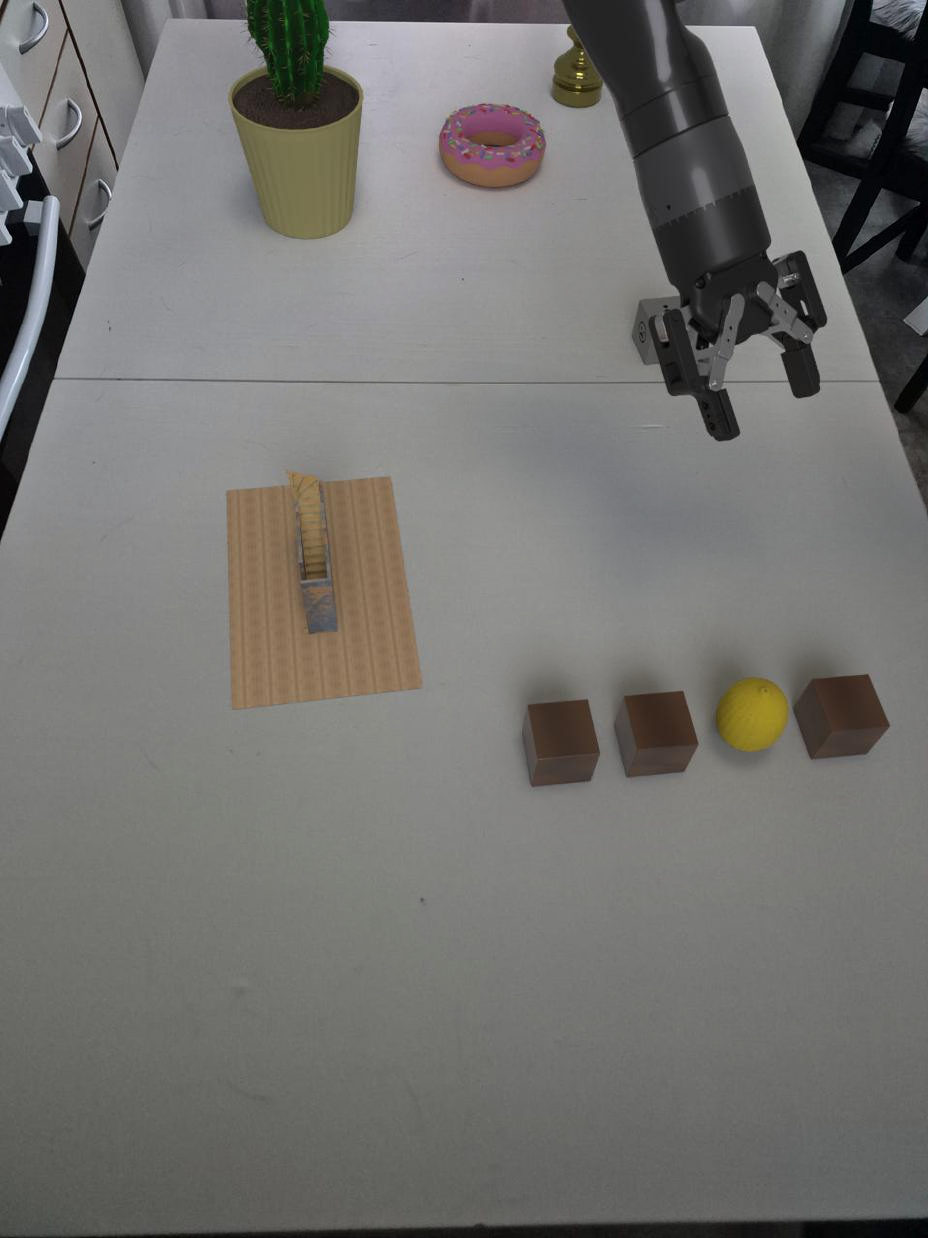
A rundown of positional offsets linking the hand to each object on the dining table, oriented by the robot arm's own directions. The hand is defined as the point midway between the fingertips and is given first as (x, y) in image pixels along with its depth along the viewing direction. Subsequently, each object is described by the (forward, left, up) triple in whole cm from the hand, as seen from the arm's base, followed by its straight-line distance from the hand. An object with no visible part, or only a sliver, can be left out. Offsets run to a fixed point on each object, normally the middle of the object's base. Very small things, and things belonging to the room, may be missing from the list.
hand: (769, 416), depth 73 cm
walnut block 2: (+9, +16, -22) cm, 29 cm away
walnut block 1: (+17, +16, -22) cm, 32 cm away
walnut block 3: (-7, +16, -22) cm, 28 cm away
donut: (+10, -73, -22) cm, 77 cm away
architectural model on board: (+36, -4, -22) cm, 42 cm away
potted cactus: (+35, -63, -22) cm, 75 cm away
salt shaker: (-5, -90, -22) cm, 93 cm away
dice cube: (-4, -34, -22) cm, 41 cm away
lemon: (+1, +16, -22) cm, 27 cm away
